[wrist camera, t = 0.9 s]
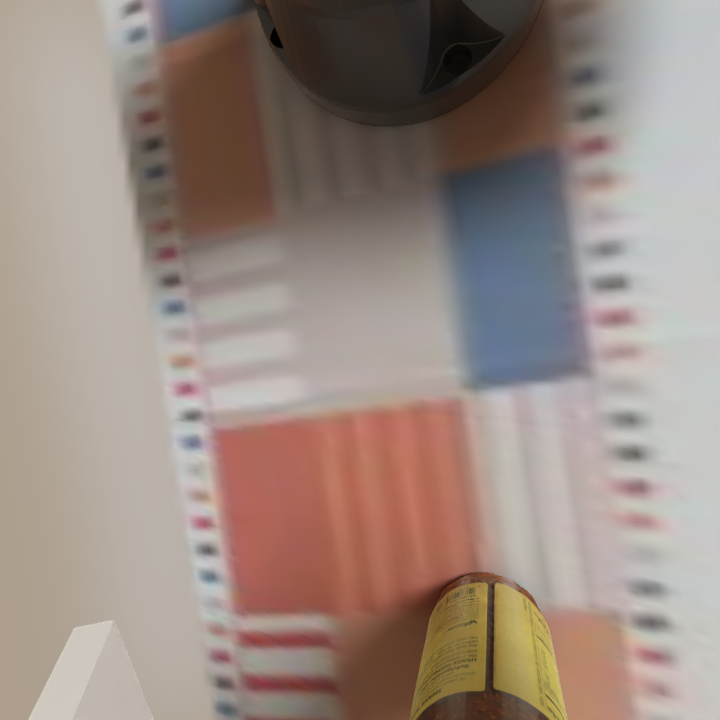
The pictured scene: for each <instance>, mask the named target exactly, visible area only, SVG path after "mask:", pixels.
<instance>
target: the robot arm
mask: <svg viewBox="0 0 720 720" xmlns="http://www.w3.org/2000/svg"><path fill="white" fill-rule="evenodd" d="M542 1H543V0H255V2H256V6H257V11H258V15H259V18H260V22H261V25H262V28H263V31H264V33H265V36H266V38H267V40H268V42H269V45H270V47H271V48H272V50H273V52H274V54H275V56H276V57H277V59H278V60H279V62H280V63H281V65H282V66H283V67H284V69H285V70H286V71H287V72H288V74H289V75H290V76H291V77H292V78H293V79H294V81H295V82H296V83H297V84H298V85H299V87H300V88H301V89H302V90H303V91H304V92H305V93H306V94H307V95H308V96H309V97H310V98H311V99H312V100H314V101H315V102H316V103H318V104H319V105H320V106H322V107H323V108H325V109H326V110H328V111H330V112H332V113H334V114H336V115H338V116H340V117H342V118H345V119H348V120H351V121H354V122H358V123H362V124H368V125H377V126H397V125H406V124H411V123H416V122H420V121H424V120H428V119H431V118H433V117H436V116H439V115H441V114H444V113H446V112H448V111H450V110H452V109H454V108H456V107H458V106H459V105H461V104H463V103H464V102H466V101H468V100H469V99H471V98H472V97H473V96H475V95H476V94H478V93H479V92H480V91H481V90H483V89H484V88H485V87H486V86H487V85H489V84H490V83H491V82H492V81H493V80H494V79H495V78H496V77H497V76H498V75H499V74H500V73H501V72H502V71H503V70H504V68H505V67H506V66H507V65H508V64H509V63H510V61H511V60H512V59H513V57H514V56H515V55H516V53H517V52H518V51H519V49H520V47H521V46H522V44H523V43H524V41H525V40H526V38H527V36H528V34H529V32H530V31H531V29H532V26H533V24H534V22H535V20H536V18H537V15H538V13H539V10H540V8H541V4H542ZM28 720H154V718H153V716H152V713H151V711H150V708H149V705H148V703H147V700H146V698H145V695H144V693H143V691H142V688H141V685H140V683H139V680H138V678H137V675H136V673H135V670H134V668H133V665H132V663H131V660H130V658H129V655H128V653H127V650H126V648H125V646H124V643H123V640H122V638H121V635H120V633H119V630H118V628H117V625H116V622H115V620H110V621H105V622H100V623H95V624H90V625H85V626H80V627H75V628H74V629H73V631H72V634H71V635H70V637H69V639H68V641H67V644H66V645H65V648H64V650H63V651H62V654H61V655H60V657H59V659H58V661H57V663H56V665H55V667H54V670H53V671H52V673H51V675H50V677H49V679H48V681H47V683H46V685H45V687H44V690H43V691H42V694H41V695H40V698H39V699H38V701H37V703H36V705H35V707H34V709H33V711H32V713H31V715H30V717H29V719H28Z"/></svg>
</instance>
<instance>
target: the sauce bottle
mask: <svg viewBox="0 0 720 720" xmlns="http://www.w3.org/2000/svg"><path fill="white" fill-rule="evenodd" d="M409 720H568V719H567V714H566V710H565V705H564V700H563V695H562V690H561V685H560V680H559V675H558V670H557V664H556V659H555V654H554V649H553V644H552V639H551V634H550V630H549V627H548V625H547V623H546V621H545V619H544V618H543V616H542V614H541V612H540V610H539V609H538V607H537V605H536V602H535V600H534V599H533V597H532V596H531V595H530V594H529V593H528V592H527V591H526V590H525V589H523V588H522V587H520V586H519V585H518V584H516V583H515V582H512V581H510V580H508V579H506V578H504V577H501V576H496V575H494V574H490V573H487V572H486V573H473V574H470V575H465V576H464V577H462V578H460V579H458V580H456V581H454V582H453V583H451V584H450V585H448V586H447V587H446V588H445V589H444V590H443V591H442V593H441V595H440V597H439V599H438V601H437V604H436V606H435V609H434V610H433V612H432V614H431V617H430V620H429V624H428V629H427V634H426V639H425V644H424V649H423V654H422V658H421V663H420V668H419V673H418V678H417V682H416V687H415V692H414V697H413V702H412V708H411V713H410V718H409Z"/></svg>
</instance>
